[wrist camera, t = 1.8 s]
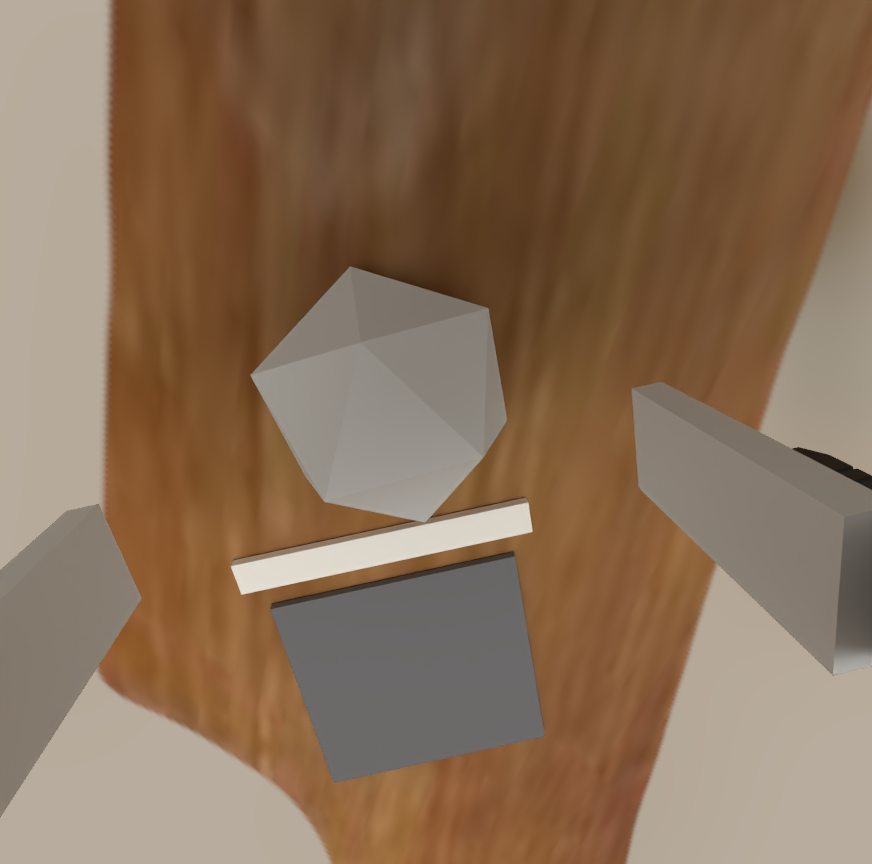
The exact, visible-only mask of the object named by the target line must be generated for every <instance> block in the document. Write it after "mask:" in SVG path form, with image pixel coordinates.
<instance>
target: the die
mask: <svg viewBox="0 0 872 864" xmlns="http://www.w3.org/2000/svg"><path fill="white" fill-rule="evenodd" d="M250 376H251V377H252V379H253V381H254V383H255V385H256V387H257V388H258V390H259V392H260V394H261V396H262V398H263V400H264V401H265V403H266V405H267V407H268V409H269V411H270V412H271V414H272V416H273V418H274V420H275V422H276V423H277V425H278V427H279V429H280V431H281V433H282V434H283V436H284V438H285V440H286V442H287V444H288V445H289V447H290V449H291V451H292V453H293V455H294V456H295V458H296V460H297V462H298V464H299V466H300V467H301V469H302V471H303V473H304V475H305V477H306V478H307V479H308V481H309V482H310V483H311V485H312V486H313V487H314V489H315V490H316V491H317V493H318V494H319V495H320V497H321V498H322V499H323V501H324V502H328V503H333V504H338V505H343V506H347V507H352V508H357V509H362V510H367V511H372V512H377V513H381V514H386V515H391V516H396V517H401V518H406V519H411V520H416V521H420V522H426V521H427V520H428V519H429V518H430V517H431V516H432V514H433V513H434V512H435V511H436V510H437V509H438V508H439V507H440V505H441V504H442V503H443V502H444V501H445V500H446V499H447V498H448V497H449V495H450V494H451V493H452V492H453V491H454V490H455V489H456V488H457V486H458V485H459V484H460V483H461V482H462V481H463V480H464V479H465V478H466V476H467V475H468V474H469V473H470V472H471V471H472V470H473V469H474V467H475V466H476V465H477V464H478V463H479V462H480V461H481V460H482V458H483V457H484V456H485V454H486V453H487V451H488V450H489V448H490V447H491V445H492V443H493V442H494V440H495V439H496V437H497V436H498V434H499V433H500V431H501V429H502V428H503V426H504V425H505V423H506V422H507V416H506V410H505V404H504V398H503V392H502V386H501V380H500V374H499V368H498V362H497V356H496V350H495V345H494V339H493V333H492V327H491V321H490V315H489V309H488V308H486V307H483V306H480V305H476V304H473V303H470V302H467V301H463V300H460V299H457V298H453V297H450V296H447V295H443V294H440V293H437V292H433V291H430V290H427V289H423V288H420V287H417V286H413V285H410V284H407V283H404V282H400V281H397V280H394V279H390V278H387V277H384V276H380V275H377V274H374V273H370V272H367V271H364V270H360V269H357V268H354V267H351V266H350V267H349V268H348V269H347V270H346V271H345V272H344V274H343V275H342V276H341V277H340V278H339V279H338V280H337V281H336V282H335V283H334V284H333V286H332V287H331V288H330V289H329V290H328V291H327V292H326V293H325V294H324V295H323V296H322V298H321V299H320V300H319V301H318V302H317V303H316V304H315V305H314V306H313V307H312V308H311V310H310V311H309V312H308V313H307V314H306V315H305V316H304V317H303V318H302V319H301V320H300V321H299V323H298V324H297V325H296V326H295V327H294V328H293V329H292V330H291V331H290V332H289V333H288V335H287V336H286V337H285V338H284V339H283V340H282V341H281V342H280V343H279V344H278V345H277V347H276V348H275V349H274V350H273V351H272V352H271V353H270V354H269V355H268V356H267V357H266V359H265V360H264V361H263V362H262V363H261V364H260V365H259V366H258V367H257V368H256V369H255V371H254V372H253V373H252V374H251V375H250Z"/></svg>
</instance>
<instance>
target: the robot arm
mask: <svg viewBox="0 0 872 864" xmlns="http://www.w3.org/2000/svg"><path fill="white" fill-rule="evenodd" d="M632 401H633V415H634V429H635V443H636V456H637V470H638V484H639V489H640V490H641V491H642V492H643V493H644V494H646V495H647V496H648V497H649V498H650V499H651V500H652V501H653V502H654V503H655V504H656V505H657V506H658V507H659V508H660V509H661V510H662V511H663V512H664V513H665V514H666V515H667V516H668V517H669V518H670V519H671V520H672V521H673V522H675V523H676V524H677V525H678V526H679V527H680V528H681V529H682V530H683V531H684V532H685V533H686V534H687V535H688V536H689V537H690V538H691V539H692V540H693V541H694V542H695V543H696V544H697V545H698V546H699V547H700V548H701V549H702V550H704V551H705V552H706V553H707V554H708V555H709V556H710V557H711V558H712V559H713V560H714V561H715V562H716V563H717V564H718V565H719V566H720V567H721V568H722V569H723V570H724V571H725V572H726V573H727V574H728V575H729V576H730V577H731V578H733V579H734V580H735V581H736V582H737V583H738V584H739V585H740V586H741V587H742V588H743V589H744V590H745V591H746V592H747V593H748V594H749V595H750V596H751V597H752V598H753V599H754V600H755V601H757V603H758V604H759V605H760V606H761V607H763V608H764V609H765V610H766V611H767V612H768V613H769V614H770V615H771V616H772V617H773V618H774V619H775V620H776V621H777V622H778V623H779V624H780V625H781V626H782V627H783V628H784V629H785V630H787V632H789V634H790V635H792V636H793V637H794V638H795V639H796V640H797V641H798V642H799V643H800V644H801V645H802V646H803V647H804V648H805V649H806V650H807V651H808V652H809V653H810V654H811V655H812V656H814V658H815V659H817V661H818V662H819V663H821V664H822V665H823V666H824V667H825V668H826V669H827V670H828V671H829V672H830V673H831V674H832V675H837V674H842V673H846V672H850V671H854V670H858V669H863V668H867V667H871V666H872V476H871V475H869V474H867V473H865V472H863V471H861V470H859V469H853V467H852V466H851V465H848V464H847V463H845V462H843V461H840V460H838V459H836V458H834V457H832V456H830V455H827V454H823V453H819V452H815V451H811V450H807V449H803V448H799V447H798V448H793V449H791V448H789V447H787V446H785V445H783V444H781V443H779V442H777V441H775V440H774V439H772V438H770V437H768V436H766V435H764V434H762V433H760V432H758V431H756V430H754V429H752V428H750V427H748V426H746V425H745V424H743V423H741V422H739V421H737V420H735V419H733V418H731V417H729V416H727V415H725V414H723V413H721V412H719V411H717V410H715V409H713V408H712V407H710V406H708V405H706V404H704V403H702V402H700V401H698V400H696V399H694V398H692V397H690V396H688V395H686V394H684V393H682V392H680V391H679V390H677V389H675V388H673V387H671V386H669V385H667V384H665V383H663V382H659V383H654V384H650V385H645V386H640V387H636V388H632ZM141 599H142V598H141V596H140V594H139V592H138V589H137V587H136V585H135V583H134V581H133V578H132V576H131V574H130V572H129V570H128V567H127V565H126V563H125V561H124V559H123V556H122V554H121V552H120V550H119V548H118V545H117V543H116V541H115V539H114V536H113V534H112V532H111V530H110V528H109V525H108V523H107V521H106V519H105V517H104V514H103V512H102V510H101V508H100V506H99V504H97V505H92V506H88V507H83V508H78V509H74V510H70V511H66V512H65V513H64V514H63V515H62V516H61V517H59V518H58V519H57V520H56V521H55V522H54V523H53V524H52V525H50V526H49V527H48V528H47V529H46V530H45V531H44V532H43V533H42V534H40V535H39V536H38V537H37V538H36V539H35V540H34V541H32V542H31V543H30V544H29V545H28V546H27V547H26V548H25V549H24V550H22V551H21V552H20V553H19V554H18V555H17V556H16V557H15V558H13V559H12V560H11V561H10V562H9V563H8V564H7V565H6V566H4V567H3V568H2V569H1V570H0V817H1V815H2V814H3V812H4V811H5V809H6V808H7V806H8V805H9V803H10V801H11V800H12V798H13V797H14V795H15V794H16V792H17V791H18V789H19V788H20V786H21V784H22V783H23V781H24V780H25V778H26V777H27V775H28V774H29V772H30V771H31V769H32V767H33V766H34V764H35V763H36V761H37V760H38V758H39V757H40V755H41V754H42V752H43V750H44V749H45V747H46V746H47V744H48V743H49V741H50V740H51V738H52V737H53V735H54V733H55V732H56V730H57V729H58V727H59V725H60V724H61V723H62V721H63V720H64V718H65V716H66V715H67V713H68V712H69V710H70V709H71V707H72V706H73V704H74V703H75V701H76V699H77V698H78V696H79V695H80V693H81V691H82V690H83V689H84V687H85V686H86V684H87V682H88V680H89V679H90V678H91V676H92V675H93V673H94V672H95V670H96V669H97V667H98V665H99V664H100V662H101V661H102V659H103V658H104V656H105V655H106V653H107V652H108V650H109V648H110V647H111V645H112V644H113V642H114V641H115V639H116V638H117V636H118V635H119V633H120V631H121V630H122V628H123V627H124V625H125V624H126V622H127V621H128V619H129V617H130V616H131V614H132V613H133V611H134V610H135V608H136V607H137V605H138V604H139V602H140V600H141Z"/></svg>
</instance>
